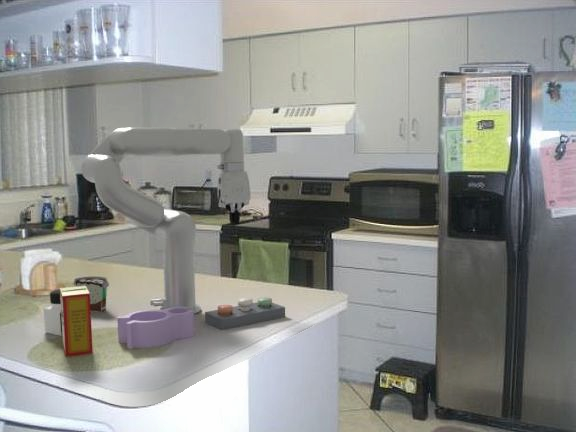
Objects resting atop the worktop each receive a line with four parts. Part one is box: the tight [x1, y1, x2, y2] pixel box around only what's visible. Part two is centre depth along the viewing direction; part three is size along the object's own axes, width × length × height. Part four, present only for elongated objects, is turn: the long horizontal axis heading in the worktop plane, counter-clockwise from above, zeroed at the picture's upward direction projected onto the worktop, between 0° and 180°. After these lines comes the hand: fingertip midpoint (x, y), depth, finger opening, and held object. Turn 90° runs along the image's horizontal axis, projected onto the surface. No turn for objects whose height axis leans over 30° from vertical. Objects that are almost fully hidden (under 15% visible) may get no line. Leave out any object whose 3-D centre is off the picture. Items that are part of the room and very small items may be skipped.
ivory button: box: [237, 297, 254, 312], centre depth 198 cm, size 4×4×4 cm
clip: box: [117, 307, 195, 350], centre depth 180 cm, size 20×12×7 cm, turn 125°
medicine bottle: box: [43, 288, 62, 337], centre depth 187 cm, size 7×7×12 cm
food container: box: [73, 275, 110, 314], centre depth 211 cm, size 12×6×10 cm, turn 65°
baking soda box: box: [59, 286, 94, 358], centre depth 171 cm, size 10×6×16 cm
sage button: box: [257, 297, 273, 308], centre depth 202 cm, size 4×4×4 cm
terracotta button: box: [217, 304, 234, 316], centre depth 194 cm, size 4×4×4 cm
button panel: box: [204, 301, 286, 331], centre depth 198 cm, size 22×10×3 cm, turn 126°
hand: (234, 223), depth 216 cm, fingers closed
